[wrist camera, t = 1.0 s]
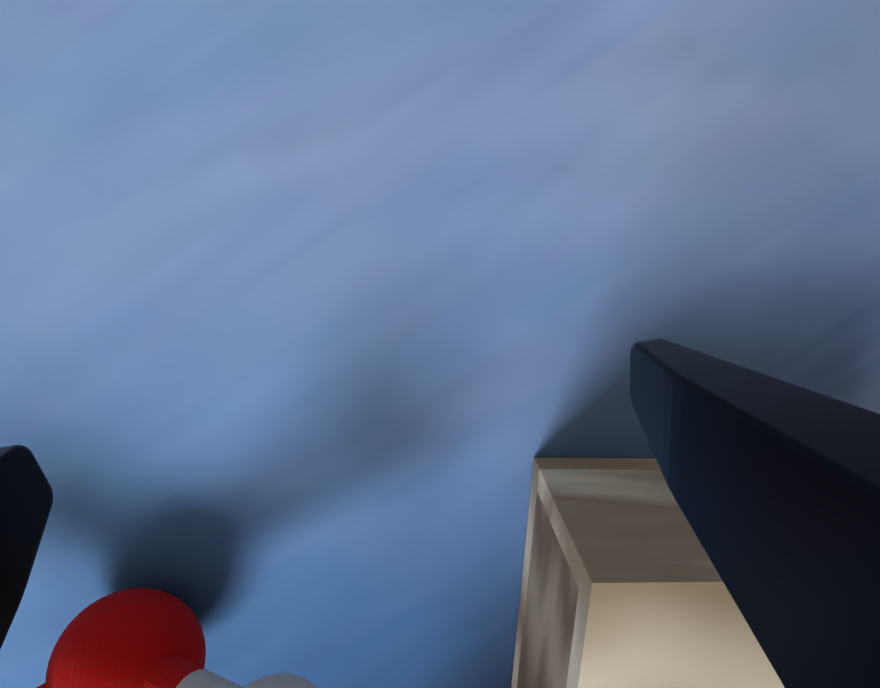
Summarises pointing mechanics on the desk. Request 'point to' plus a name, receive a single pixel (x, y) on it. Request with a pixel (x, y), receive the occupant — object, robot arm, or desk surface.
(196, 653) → the molecular model
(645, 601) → the cabinet
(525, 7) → the desk surface
